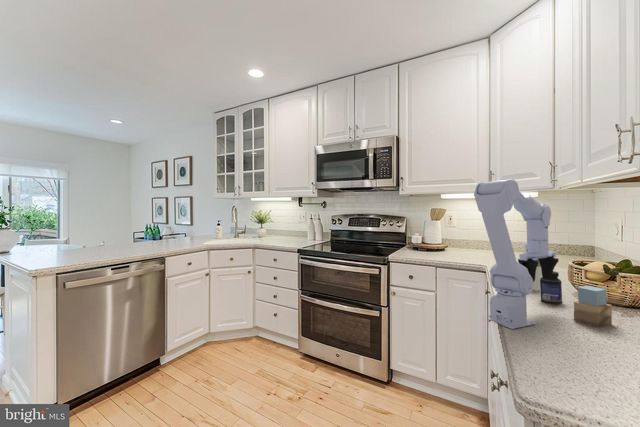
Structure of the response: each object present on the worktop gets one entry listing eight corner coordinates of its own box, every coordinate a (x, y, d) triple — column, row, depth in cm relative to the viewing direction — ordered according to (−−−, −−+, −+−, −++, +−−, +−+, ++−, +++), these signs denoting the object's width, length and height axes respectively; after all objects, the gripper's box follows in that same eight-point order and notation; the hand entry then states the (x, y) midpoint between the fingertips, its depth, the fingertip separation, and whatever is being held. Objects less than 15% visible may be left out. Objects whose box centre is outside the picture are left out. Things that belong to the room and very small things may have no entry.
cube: (596, 306, 81) (596, 291, 81) (578, 302, 85) (577, 287, 85) (606, 304, 82) (606, 289, 82) (587, 300, 86) (587, 285, 86)
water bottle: (554, 290, 116) (552, 230, 116) (536, 291, 115) (534, 231, 115) (536, 285, 125) (534, 229, 125) (519, 286, 123) (517, 230, 123)
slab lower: (598, 328, 80) (598, 318, 80) (574, 321, 86) (573, 311, 86) (611, 325, 82) (611, 315, 82) (587, 318, 87) (586, 308, 87)
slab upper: (598, 318, 80) (598, 307, 80) (574, 311, 86) (573, 301, 86) (612, 315, 82) (611, 305, 82) (587, 308, 87) (586, 299, 87)
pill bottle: (566, 304, 99) (565, 273, 99) (546, 304, 100) (545, 273, 100) (555, 299, 105) (554, 270, 105) (537, 299, 106) (536, 270, 106)
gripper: (534, 242, 88) (535, 285, 88) (565, 239, 93) (567, 280, 93) (512, 240, 95) (514, 280, 95) (543, 237, 99) (544, 275, 99)
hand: (538, 279), depth 94 cm, fingers open, 7 cm apart
